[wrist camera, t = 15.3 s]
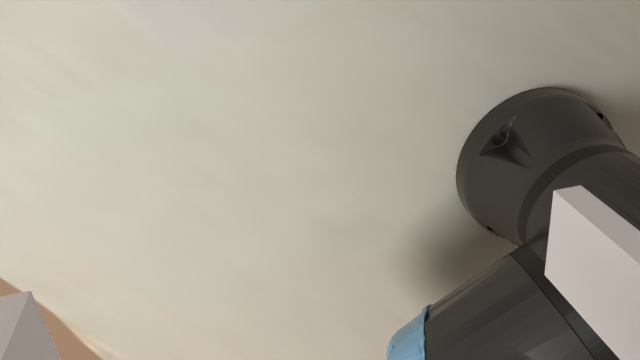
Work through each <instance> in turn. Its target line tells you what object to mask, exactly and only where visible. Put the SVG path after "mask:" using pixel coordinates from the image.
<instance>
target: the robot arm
mask: <svg viewBox="0 0 640 360" xmlns="http://www.w3.org/2000/svg"><path fill="white" fill-rule="evenodd" d="M456 185H457V191H458V194H459V197H460V200H461V202H462V204H463V205H464V207H465V208H466V210H467V211H468V212H469V213H470V214H471V216H472V217H473V218H474V219H475V221H476V222H477V223H478V224H479V225H481V226H482V227H483V228H484V229H486V230H487V231H489V232H491V233H493V234H495V235H497V236H500V237H503V238H506V239H507V240H509V241H510V242H512V243H514V244H516V245H518V246H520V247H518V248H517V249H516V250H514V251H513V252H511V253H509V254H508V255H506V256H505V257H503V258H502V259H500V260H499V261H497V262H496V263H494V264H493V265H491V266H490V267H488V268H487V269H485V270H484V271H483V272H481V273H480V274H478V275H477V276H475V277H474V278H472V279H471V280H469V281H468V282H466V283H465V284H463V285H462V286H460V287H459V288H458V289H456V290H455V291H453V292H452V293H450V294H449V295H447V296H446V297H444V298H443V299H441V300H440V301H438V302H437V303H435V304H433V305H431V304H430V305H428V306H426V307H425V308H424V309H423V310H422V312H421V314H419V315H418V316H417V317H415V318H414V319H413V320H412V321H410V322H409V323H408V324H406V325H405V326H404V327H402V328H401V329H400V330H398V331H397V332H396V333H395V334H394V335H393V337H392V339H391V340H390V342H389V345H388V350H387V360H640V158H639V157H637V156H636V155H634V154H633V153H631V152H630V151H628V150H627V149H626V147H625V146H624V144H623V143H622V141H621V139H620V138H619V136H618V135H617V134H616V132H615V131H614V130H613V129H612V126H611V124H610V122H609V121H608V119H607V118H606V116H605V115H604V114H603V113H602V112H601V111H600V110H599V109H598V108H597V107H596V106H595V105H594V104H592V103H590V102H589V101H587V100H585V99H584V98H582V97H580V96H579V95H577V94H575V93H573V92H570V91H567V90H563V89H557V88H541V89H535V90H530V91H527V92H524V93H521V94H518V95H516V96H514V97H512V98H510V99H508V100H506V101H505V102H503V103H501V104H500V105H498V106H497V107H496V108H494V109H493V110H492V111H491V112H490V113H488V114H487V115H486V116H485V117H484V118H483V119H482V120H481V121H480V122H479V124H478V125H477V126H476V127H475V128H474V130H473V131H472V133H471V134H470V136H469V137H468V139H467V141H466V143H465V145H464V147H463V149H462V151H461V154H460V157H459V160H458V165H457V171H456ZM0 360H61V357H60V355H59V353H58V351H57V349H56V346H55V344H54V342H53V339H52V337H51V335H50V333H49V331H48V328H47V326H46V324H45V322H44V320H43V317H42V315H41V313H40V310H39V308H38V306H37V304H36V301H35V299H34V297H33V295H32V292H31V291H28V292H23V293H17V294H13V295H7V296H2V297H0Z"/></svg>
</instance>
